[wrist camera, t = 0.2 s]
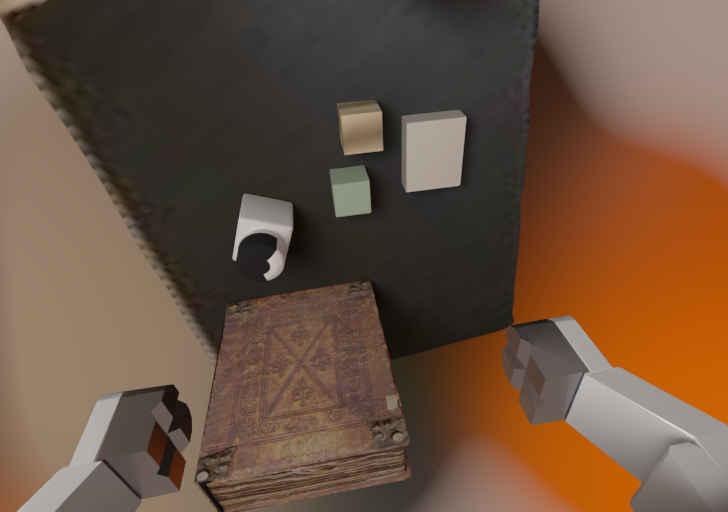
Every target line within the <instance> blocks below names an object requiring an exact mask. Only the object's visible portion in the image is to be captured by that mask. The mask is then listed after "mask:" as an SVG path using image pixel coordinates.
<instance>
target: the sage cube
mask: <svg viewBox="0 0 728 512" xmlns="http://www.w3.org/2000/svg"><path fill="white" fill-rule="evenodd" d="M330 178H331V186H332V194H333V202H334V208H335V213H336V217H342V216H350V215H357V214H365V213H371V199H370V182H369V178H368V175H367V172H366V169H365V167H364V166H355V167H347V168H339V169H330Z"/></svg>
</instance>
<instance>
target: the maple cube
mask: <svg viewBox="0 0 728 512" xmlns="http://www.w3.org/2000/svg"><path fill="white" fill-rule="evenodd" d="M337 107H338V117H339V128H340V138H341V144H342V147H343V151H344V155H350V154H359V153H367V152H376V151H383V127H382V110H381V109H380V107H379V105H378V104H377V102H376V100H367V101H357V102H348V103H338V104H337Z"/></svg>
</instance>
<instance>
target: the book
mask: <svg viewBox="0 0 728 512" xmlns="http://www.w3.org/2000/svg"><path fill="white" fill-rule="evenodd" d="M409 442H410V439H409V435H408V431H407V427H406V423H405V419H404V415H403V410H402V406H401V402H400V399H399V394H398V390H397V387H396V382H395V378H394V374H393V370H392V366H391V362H390V358H389V354H388V350H387V345H386V341H385V337H384V333H383V329H382V325H381V321H380V317H379V313H378V309H377V305H376V301H375V297H374V293H373V289H372V285H371V281H370V280H363V281H357V282H351V283H345V284H339V285H333V286H327V287H321V288H316V289H310V290H304V291H298V292H292V293H286V294H280V295H274V296H268V297H262V298H256V299H250V300H244V301H238V302H232V303H228V304H227V308H226V313H225V318H224V324H223V329H222V335H221V340H220V345H219V351H218V356H217V362H216V367H215V372H214V378H213V383H212V389H211V394H210V399H209V405H208V410H207V416H206V421H205V427H204V432H203V438H202V443H201V448H200V453H199V459H198V464H197V470H196V476H195V481H194V482H195V483H196V485H197V486H198V487H199V489H200V490H201V491H202V492H203V494H204V495H205V496H206V497H207V499H208V500H209V502H210V503H211V504H212V505H213V506H214V508H215V509H216V510H217V512H240V511H245V510H250V509H255V508H260V507H266V506H271V505H276V504H281V503H287V502H292V501H297V500H302V499H307V498H312V497H317V496H323V495H328V494H333V493H338V492H343V491H349V490H354V489H359V488H365V487H370V486H375V485H380V484H385V483H391V482H396V481H401V480H406V479H409V478H410V477H411V472H410V467H409V463H408V458H407V454H406V449H405V446H406V445H409Z"/></svg>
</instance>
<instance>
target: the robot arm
mask: <svg viewBox="0 0 728 512" xmlns="http://www.w3.org/2000/svg"><path fill="white" fill-rule="evenodd" d="M505 337H506V338H507V340H508V342H509V343H508V344H507V345H506V346H505V347H504V348H503V352H502V362H503V368H504V371H505V374H506V376H507V378H508V381H509V382H510V384H511V385H512V386H513V387H515V388H516V389H518V390H520V391H521V392H520V397H519V402H520V404H521V406H522V408H523V410H524V412H525V414H526V415H527V417H528V419H529V421H530V423H531V425H533V424H540V423H545V422H552V421H558V420H564V419H566V422H567V423H568V424H570V425H571V426H572V427H573V428H575V429H576V430H577V431H578V432H579V433H581V434H582V435H583V436H584V437H586V438H587V439H588V440H590V441H591V442H592V443H593V444H594V445H596V446H597V447H598V448H599V449H601V450H602V451H603V452H604V453H606V454H607V455H608V456H609V457H611V458H612V459H613V460H615V461H616V462H617V463H618V464H620V465H621V466H622V467H623V468H624V469H626V470H627V471H628V472H629V473H631V474H632V475H633V476H634V477H636V478H637V479H638V480H639V481H641V482H642V484H641V486H640V487H639V488H638V490H637V491H636V492H635V494H634V495H633V497H632V499H631V502H630V506H631V508H632V509H633V511H634V512H728V425H726V424H724V423H722V422H720V421H718V420H716V419H714V418H713V417H711V416H709V415H707V414H705V413H703V412H702V411H700V410H698V409H696V408H694V407H692V406H690V405H689V404H687V403H685V402H683V401H681V400H679V399H678V398H676V397H674V396H672V395H670V394H668V393H666V392H665V391H663V390H661V389H659V388H657V387H655V386H653V385H651V384H650V383H648V382H646V381H644V380H642V379H640V378H639V377H637V376H635V375H633V374H631V373H629V372H627V371H625V370H624V369H622V368H620V367H615V368H613V367H612V366H611V365H610V364H609V362H608V361H607V360H606V358H605V357H604V356H603V355H602V353H601V352H600V351H599V350H598V348H597V347H596V346H595V345H594V344H593V342H592V341H591V340H590V338H589V337H588V336H587V334H586V333H585V332H584V331H583V329H582V328H581V327H580V326H579V325H578V323H577V322H576V321H575V319H574V318H572V317H571V316H563V317H557V318H551V319H544V320H538V321H532V322H527V323H522V324H516V325H511V326H509V327H508V328H507V330H506V335H505ZM178 395H179V392H178V390H177V389H176V387H175V386H174V385H165V386H159V387H151V388H145V389H138V390H131V391H124V392H118V393H112V394H106V395H103V396H102V397H101V398H100V399H99V400H98V401H97V403H96V406H95V407H94V410H93V412H92V414H91V417H90V419H89V421H88V424H87V426H86V428H85V430H84V433H83V435H82V437H81V439H80V442H79V444H78V446H77V448H76V451H75V453H74V455H73V458H72V460H71V462H70V465H69V467H64V468H61V469H60V470H59V471H58V472H57V473H56V474H55V475H54V476H53V477H52V478H51V479H50V480H49V481H48V482H47V483H46V484H45V485H44V486H43V487H42V488H41V489H40V490H39V491H38V492H37V493H36V494H35V495H33V496H32V497H31V499H29V500H28V501H27V502H26V504H24V505H23V506H22V507H21V508H20V509H19V510H18V511H17V512H135V511H136V509H137V508H138V506H139V505H140V503H141V499H145V498H150V497H155V496H159V495H164V494H168V493H173V492H178V491H180V487H181V482H182V477H183V473H184V468H185V463H186V461H185V459H184V458H183V456H182V454H181V453H182V452H183V450H184V449H185V448H186V447H187V445H188V444H189V443H190V439H191V433H192V417H191V414H190V410H189V408H188V406H187V405H186V403H183V402H181V401H179V400H177V399H178Z"/></svg>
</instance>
